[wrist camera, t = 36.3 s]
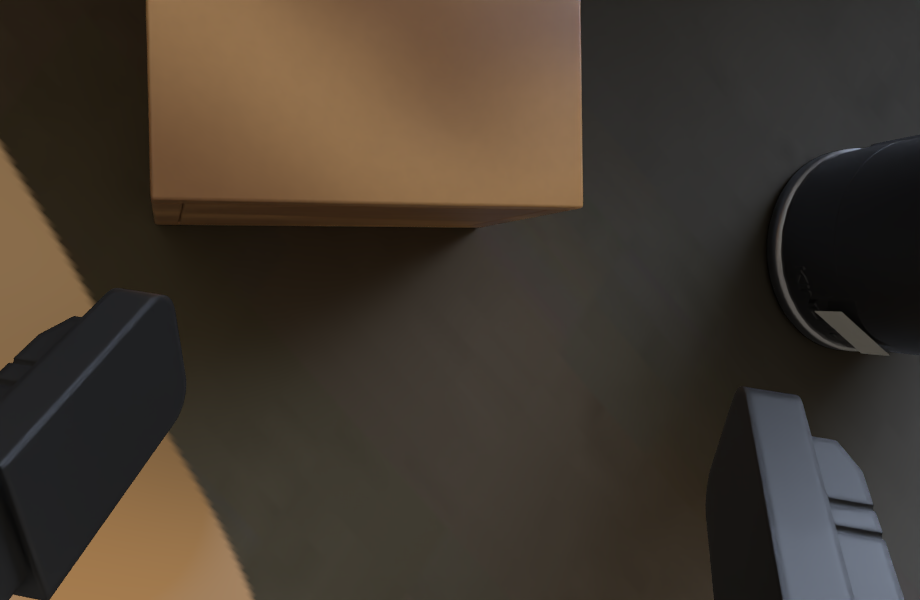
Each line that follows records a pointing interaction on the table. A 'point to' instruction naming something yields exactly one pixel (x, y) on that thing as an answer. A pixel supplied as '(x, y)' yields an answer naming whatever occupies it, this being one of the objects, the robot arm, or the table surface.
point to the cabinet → (363, 111)
